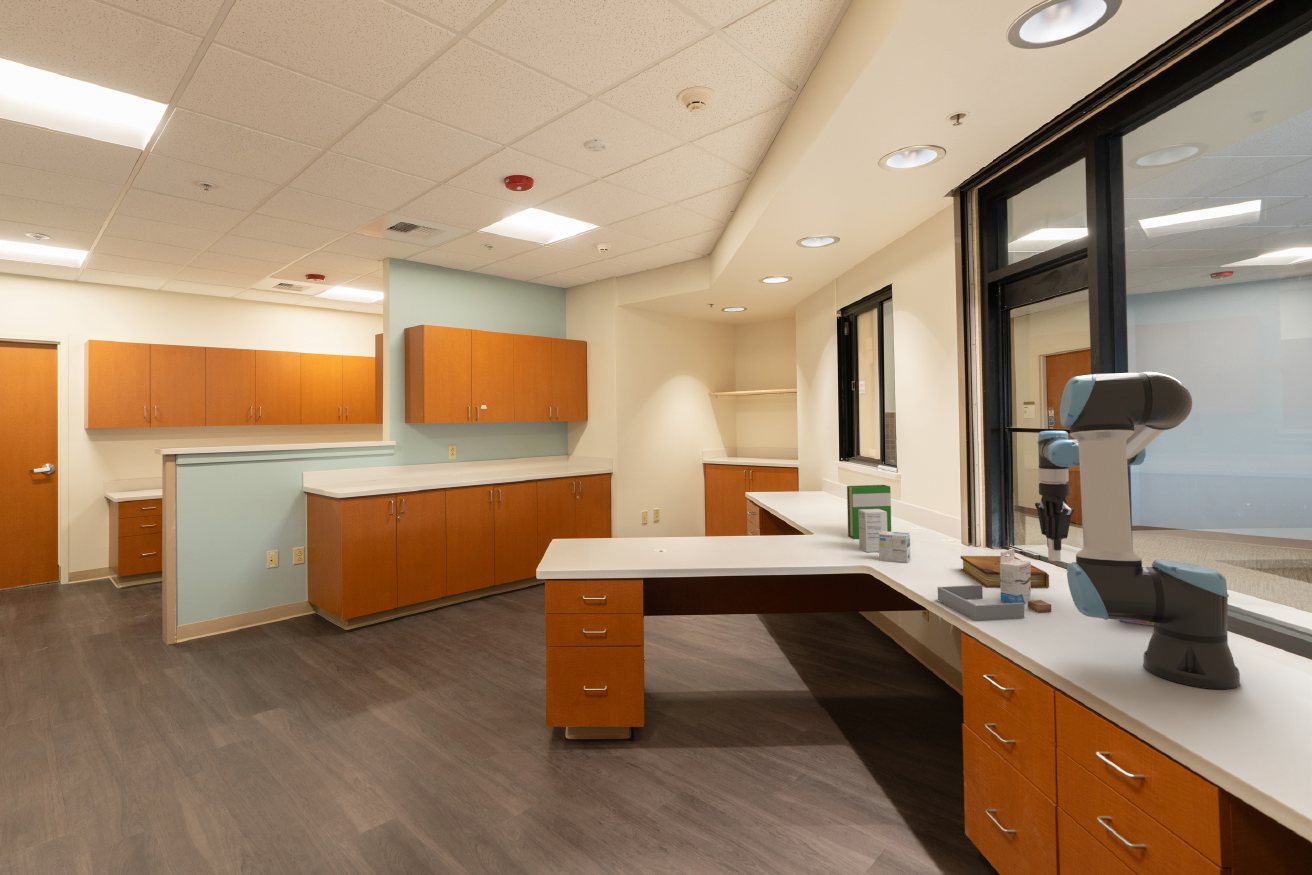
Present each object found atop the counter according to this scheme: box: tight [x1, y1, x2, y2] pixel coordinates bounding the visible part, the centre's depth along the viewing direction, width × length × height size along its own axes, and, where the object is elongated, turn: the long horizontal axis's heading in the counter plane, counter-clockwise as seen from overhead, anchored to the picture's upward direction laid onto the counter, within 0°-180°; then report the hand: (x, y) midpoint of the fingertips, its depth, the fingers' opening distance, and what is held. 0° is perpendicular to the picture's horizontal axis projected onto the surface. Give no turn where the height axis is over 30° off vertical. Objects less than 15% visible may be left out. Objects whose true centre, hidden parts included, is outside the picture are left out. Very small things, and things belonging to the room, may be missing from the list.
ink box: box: [999, 549, 1032, 604], centre depth 177 cm, size 8×5×15 cm, turn 123°
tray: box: [937, 584, 1025, 622], centre depth 171 cm, size 19×14×4 cm
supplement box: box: [858, 509, 887, 553], centre depth 251 cm, size 10×9×17 cm
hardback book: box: [846, 484, 892, 540], centre depth 277 cm, size 18×7×24 cm, turn 91°
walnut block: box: [1027, 599, 1052, 614], centre depth 168 cm, size 4×4×2 cm
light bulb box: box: [878, 531, 912, 564], centre depth 232 cm, size 11×7×11 cm, turn 58°
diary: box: [960, 555, 1050, 589], centre depth 202 cm, size 23×19×6 cm
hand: (1054, 560), depth 179 cm, fingers closed
